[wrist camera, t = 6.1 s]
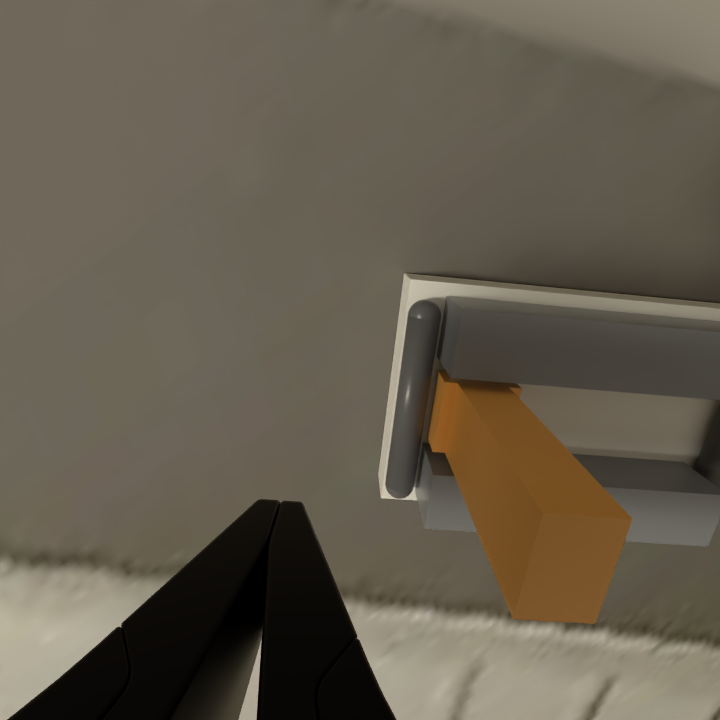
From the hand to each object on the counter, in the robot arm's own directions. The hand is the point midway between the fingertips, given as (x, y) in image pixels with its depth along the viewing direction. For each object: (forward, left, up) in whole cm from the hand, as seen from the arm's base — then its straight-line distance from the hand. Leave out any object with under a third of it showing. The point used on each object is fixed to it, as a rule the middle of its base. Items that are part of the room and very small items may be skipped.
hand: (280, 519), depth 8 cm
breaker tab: (-5, 0, -6) cm, 8 cm away
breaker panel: (-9, 0, -8) cm, 12 cm away
